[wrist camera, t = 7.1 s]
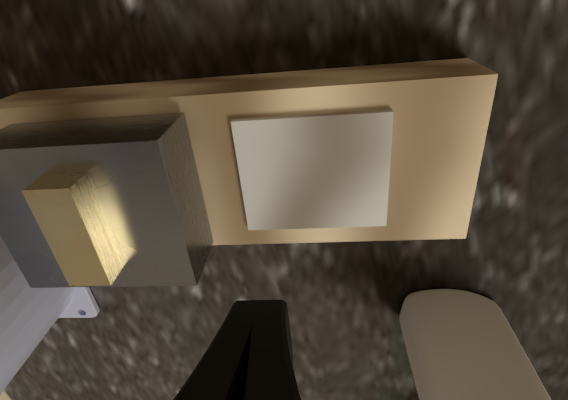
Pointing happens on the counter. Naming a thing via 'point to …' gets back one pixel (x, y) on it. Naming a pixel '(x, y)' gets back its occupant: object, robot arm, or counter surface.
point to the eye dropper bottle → (465, 349)
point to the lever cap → (103, 202)
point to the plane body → (314, 146)
